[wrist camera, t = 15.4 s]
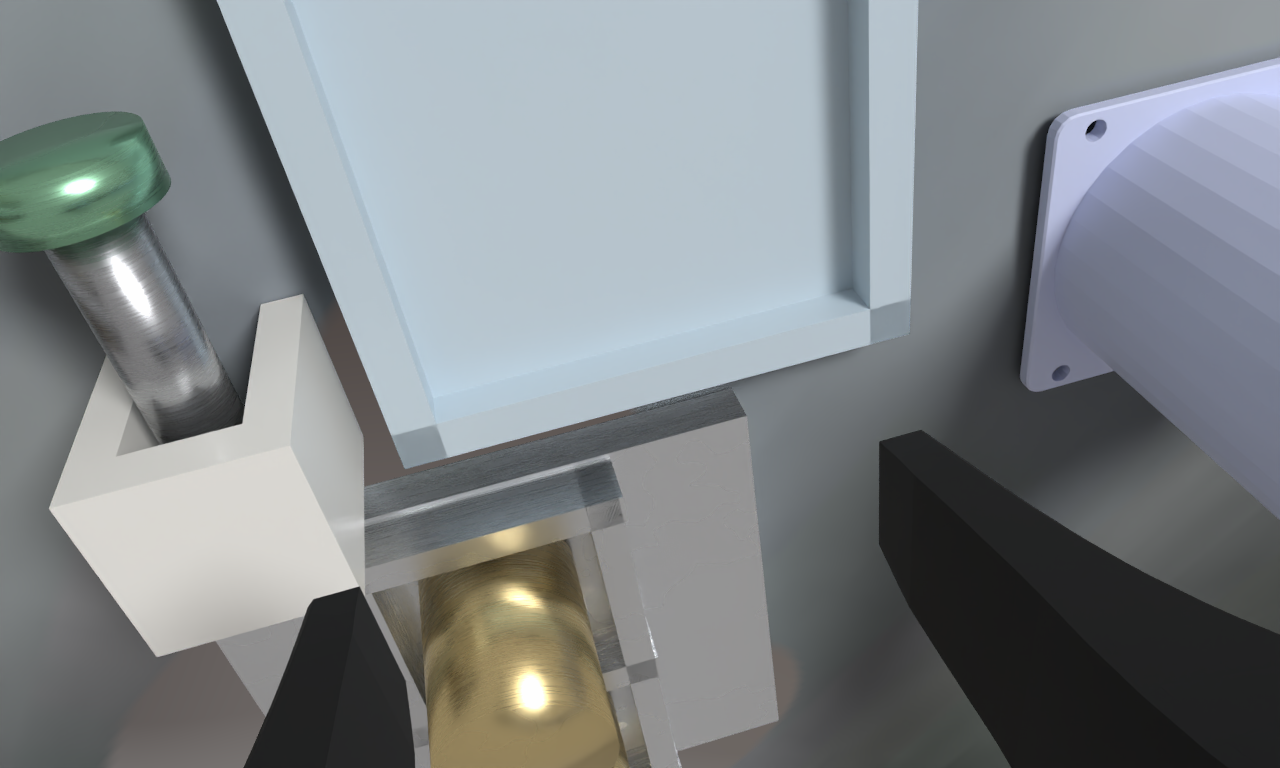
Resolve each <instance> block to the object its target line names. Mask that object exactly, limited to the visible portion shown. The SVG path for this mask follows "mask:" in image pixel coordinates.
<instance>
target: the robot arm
mask: <svg viewBox="0 0 1280 768" xmlns="http://www.w3.org/2000/svg"><path fill="white" fill-rule="evenodd" d="M1094 121H1096V124H1095V127H1094V128H1093V130H1092V131H1091V132H1090V133H1088V134H1086V135H1085V133H1086V130H1087V128H1088V126H1089V125H1090V124H1091V123H1092V122H1094ZM1058 367H1059V368H1058ZM1057 368H1058V369H1057ZM1056 369H1057V370H1056ZM1055 370H1056V371H1055ZM1112 371H1115V372H1116V373H1117V374H1118V375H1119V376H1120V377H1122V378H1123V379H1124V380H1125V381H1126V382H1127V383H1128V384H1129V385H1130V386H1132V387H1133V388H1134V389H1135V390H1136V391H1137V392H1138V393H1139V394H1140V395H1142V396H1143V397H1144V398H1145V399H1146V400H1147V401H1148V402H1149V403H1150V404H1151V405H1153V406H1154V407H1155V408H1156V409H1157V410H1158V411H1159V412H1160V413H1161V414H1163V415H1164V416H1165V417H1166V418H1167V419H1168V420H1169V421H1170V422H1171V423H1173V424H1174V425H1175V426H1176V427H1177V428H1178V429H1179V430H1180V431H1181V432H1183V433H1184V434H1185V435H1186V436H1187V437H1188V438H1189V439H1190V440H1191V441H1193V442H1194V443H1195V444H1196V445H1197V446H1198V447H1199V448H1200V449H1201V450H1203V451H1204V452H1205V453H1206V454H1207V455H1208V456H1209V457H1210V458H1211V459H1212V460H1214V461H1215V462H1216V463H1217V464H1218V465H1219V466H1220V467H1221V468H1222V469H1224V470H1225V471H1226V472H1227V473H1228V474H1229V475H1230V476H1231V477H1232V478H1234V479H1235V480H1236V481H1237V482H1238V483H1239V484H1240V485H1241V486H1242V487H1244V488H1245V489H1246V490H1247V491H1248V492H1249V493H1250V494H1251V495H1252V496H1254V497H1255V498H1256V499H1257V500H1258V501H1259V502H1260V503H1261V504H1262V505H1263V506H1265V507H1266V508H1267V509H1268V510H1269V511H1270V512H1271V513H1272V514H1273V515H1275V516H1276V517H1277V518H1278V519H1279V520H1280V57H1279V58H1275V59H1271V60H1267V61H1263V62H1259V63H1255V64H1251V65H1247V66H1243V67H1239V68H1235V69H1231V70H1227V71H1223V72H1219V73H1215V74H1211V75H1207V76H1203V77H1199V78H1195V79H1191V80H1187V81H1183V82H1179V83H1175V84H1170V85H1166V86H1162V87H1158V88H1154V89H1150V90H1146V91H1142V92H1138V93H1134V94H1130V95H1126V96H1122V97H1118V98H1114V99H1110V100H1106V101H1102V102H1098V103H1094V104H1090V105H1086V106H1082V107H1078V108H1074V109H1070V110H1067V111H1065V112H1063V113H1061V114H1060V115H1059V116H1058V117H1057V118H1056V119H1055V120H1054V121H1053V123H1052V124H1051V126H1050V127H1049V131H1048V134H1047V141H1046V150H1045V159H1044V168H1043V176H1042V185H1041V194H1040V203H1039V212H1038V221H1037V229H1036V238H1035V247H1034V256H1033V265H1032V274H1031V282H1030V291H1029V300H1028V309H1027V318H1026V327H1025V335H1024V344H1023V353H1022V362H1021V371H1020V380H1021V382H1022V383H1023V384H1024V385H1025V386H1026V387H1027V388H1028V389H1029V390H1030V391H1033V392H1039V391H1044V390H1047V389H1051V388H1055V387H1058V386H1062V385H1065V384H1069V383H1073V382H1076V381H1080V380H1083V379H1087V378H1091V377H1094V376H1098V375H1101V374H1105V373H1109V372H1112ZM879 545H880V547H881V549H882V551H883V553H884V556H885V558H886V560H887V562H888V564H889V566H890V568H891V570H892V573H893V575H894V577H895V579H896V581H897V583H898V585H899V587H900V589H901V591H902V593H903V595H904V597H905V599H906V601H907V603H908V605H909V607H910V609H911V610H912V612H913V614H914V615H915V617H916V618H917V620H918V622H919V623H920V625H921V626H922V628H923V629H924V631H925V633H926V634H927V636H928V637H929V639H930V640H931V642H932V644H933V645H934V647H935V648H936V650H937V651H938V653H939V654H940V656H941V658H942V659H943V661H944V662H945V664H946V665H947V667H948V668H949V670H950V671H951V673H952V675H953V676H954V678H955V679H956V681H957V682H958V684H959V685H960V687H961V688H962V690H963V691H964V693H965V695H966V696H967V698H968V699H969V701H970V702H971V704H972V705H973V707H974V708H975V710H976V711H977V713H978V715H979V716H980V718H981V719H982V721H983V722H984V724H985V725H986V727H987V728H988V730H989V731H990V733H991V735H992V736H993V738H994V739H995V741H996V742H997V744H998V746H999V747H1000V749H1001V751H1002V752H1003V754H1004V756H1005V758H1006V759H1007V761H1008V763H1009V764H1010V766H1011V768H1280V635H1279V634H1277V633H1275V632H1272V631H1270V630H1267V629H1265V628H1262V627H1260V626H1258V625H1255V624H1253V623H1250V622H1248V621H1246V620H1243V619H1241V618H1238V617H1236V616H1234V615H1231V614H1229V613H1227V612H1225V611H1223V610H1220V609H1218V608H1216V607H1214V606H1211V605H1209V604H1207V603H1205V602H1203V601H1201V600H1199V599H1197V598H1195V597H1193V596H1190V595H1188V594H1186V593H1184V592H1182V591H1180V590H1178V589H1176V588H1174V587H1172V586H1170V585H1168V584H1166V583H1164V582H1162V581H1160V580H1158V579H1156V578H1154V577H1152V576H1150V575H1148V574H1146V573H1144V572H1142V571H1140V570H1139V569H1137V568H1135V567H1133V566H1131V565H1129V564H1127V563H1125V562H1124V561H1122V560H1120V559H1118V558H1117V557H1115V556H1113V555H1112V554H1110V553H1108V552H1106V551H1105V550H1103V549H1101V548H1099V547H1098V546H1096V545H1094V544H1092V543H1091V542H1089V541H1087V540H1086V539H1084V538H1082V537H1081V536H1079V535H1077V534H1076V533H1074V532H1073V531H1071V530H1069V529H1068V528H1066V527H1064V526H1063V525H1061V524H1060V523H1058V522H1057V521H1055V520H1053V519H1052V518H1050V517H1049V516H1047V515H1046V514H1044V513H1042V512H1041V511H1039V510H1038V509H1036V508H1035V507H1033V506H1032V505H1030V504H1028V503H1027V502H1025V501H1024V500H1022V499H1021V498H1019V497H1018V496H1016V495H1015V494H1013V493H1012V492H1010V491H1009V490H1007V489H1006V488H1004V487H1003V486H1001V485H1000V484H999V483H997V482H996V481H994V480H993V479H991V478H990V477H988V476H987V475H985V474H984V473H983V472H981V471H980V470H978V469H977V468H975V467H974V466H972V465H971V464H970V463H968V462H967V461H965V460H964V459H962V458H961V457H960V456H958V455H957V454H955V453H954V452H953V451H951V450H950V449H948V448H947V447H945V446H944V445H943V444H941V443H940V442H938V441H937V440H935V439H934V438H932V437H931V436H930V435H928V434H927V433H925V432H923V431H922V430H919V431H915V432H912V433H908V434H905V435H901V436H897V437H894V438H890V439H887V440H883V441H880V442H879ZM244 768H415V751H414V742H413V733H412V724H411V716H410V709H409V701H408V693H407V686H406V680H405V678H404V676H403V674H402V672H401V670H400V668H399V666H398V664H397V662H396V660H395V658H394V656H393V654H392V652H391V650H390V648H389V646H388V643H387V641H386V639H385V637H384V635H383V633H382V631H381V629H380V627H379V625H378V623H377V621H376V619H375V617H374V615H373V613H372V611H371V609H370V607H369V605H368V603H367V600H366V598H365V596H364V594H363V592H362V590H361V588H360V586H359V587H355V588H352V589H348V590H345V591H341V592H338V593H334V594H330V595H327V596H323V597H320V598H316V599H313V600H312V602H311V603H310V605H309V606H308V608H307V611H306V614H305V616H304V619H303V622H302V625H301V628H300V631H299V633H298V636H297V639H296V642H295V645H294V647H293V650H292V653H291V655H290V658H289V661H288V663H287V666H286V669H285V671H284V674H283V676H282V679H281V681H280V684H279V686H278V689H277V691H276V694H275V696H274V699H273V701H272V704H271V706H270V708H269V711H268V713H267V715H266V718H265V720H264V723H263V725H262V727H261V729H260V732H259V734H258V737H257V739H256V741H255V743H254V746H253V748H252V750H251V753H250V755H249V757H248V759H247V761H246V764H245V766H244Z"/></svg>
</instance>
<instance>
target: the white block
mask: <svg viewBox="0 0 1280 768" xmlns="http://www.w3.org/2000/svg"><path fill="white" fill-rule="evenodd" d="M363 442H364V436H363V434H362V431H361V429H360V426H359V424H358V422H357V419H356V417H355V415H354V412H353V410H352V408H351V405H350V403H349V401H348V398H347V396H346V393H345V391H344V389H343V386H342V384H341V382H340V379H339V377H338V375H337V372H336V370H335V368H334V365H333V363H332V360H331V358H330V356H329V354H328V351H327V349H326V346H325V344H324V342H323V339H322V337H321V334H320V332H319V330H318V327H317V325H316V323H315V320H314V318H313V316H312V313H311V311H310V309H309V306H308V304H307V301H306V299H305V297H304V294H301V295H297V296H293V297H289V298H285V299H281V300H277V301H273V302H269V303H265V304H261V306H260V313H259V319H258V326H257V332H256V339H255V345H254V351H253V358H252V364H251V371H250V377H249V384H248V390H247V397H246V403H245V410H244V416H243V423H242V424H240V425H236V426H232V427H228V428H224V429H221V430H217V431H213V432H209V433H205V434H201V435H197V436H193V437H190V438H186V439H182V440H178V441H174V442H170V443H166V444H163V445H160V444H159V442H158V441H157V439H156V437H155V436H154V434H153V432H152V430H151V429H150V427H149V425H148V424H147V422H146V420H145V419H144V417H143V415H142V414H141V412H140V410H139V409H138V407H137V405H136V404H135V402H134V400H133V399H132V397H131V395H130V394H129V392H128V390H127V389H126V387H125V385H124V384H123V382H122V380H121V379H120V377H119V375H118V374H117V372H116V370H115V369H114V367H113V365H112V363H111V362H110V360H109V358H108V357H107V355H106V357H105V360H104V363H103V365H102V368H101V371H100V373H99V376H98V379H97V381H96V384H95V387H94V389H93V392H92V395H91V397H90V400H89V403H88V405H87V408H86V411H85V414H84V416H83V419H82V422H81V424H80V427H79V430H78V432H77V435H76V438H75V440H74V443H73V446H72V448H71V451H70V454H69V456H68V459H67V462H66V464H65V467H64V470H63V472H62V475H61V478H60V480H59V483H58V486H57V488H56V491H55V494H54V496H53V499H52V502H51V504H50V507H49V510H50V511H51V512H52V514H53V515H54V517H55V518H56V519H57V521H58V522H59V523H60V525H61V526H62V527H63V529H64V530H65V532H66V533H67V534H68V536H69V537H70V538H71V540H72V541H73V543H74V544H75V545H76V547H77V548H78V549H79V551H80V552H81V554H82V555H83V556H84V558H85V559H86V560H87V562H88V563H89V565H90V566H91V567H92V569H93V570H94V571H95V573H96V574H97V576H98V577H99V578H100V580H101V581H102V582H103V584H104V585H105V587H106V588H107V589H108V591H109V592H110V593H111V595H112V596H113V598H114V599H115V600H116V602H117V603H118V604H119V606H120V607H121V608H122V610H123V611H124V613H125V614H126V615H127V617H128V618H129V619H130V621H131V622H132V624H133V625H134V626H135V628H136V629H137V630H138V632H139V633H140V635H141V636H142V637H143V639H144V640H145V641H146V643H147V644H148V646H149V647H150V648H151V650H152V651H153V652H154V654H155V655H156V657H159V656H163V655H167V654H170V653H174V652H177V651H181V650H184V649H188V648H192V647H195V646H199V645H202V644H206V643H209V642H212V641H217V640H220V639H224V638H227V637H231V636H234V635H238V634H242V633H245V632H249V631H252V630H256V629H259V628H263V627H267V626H270V625H274V624H277V623H281V622H284V621H288V620H292V619H295V618H299V617H302V616H305V614H306V611H307V608H308V606H309V605H310V603H311V602H312V600H313V599H316V598H320V597H323V596H327V595H330V594H334V593H338V592H341V591H345V590H348V589H352V588H355V587H359V586H360V588H361V590H362V592H363V594H364V596H365V539H364V443H363Z"/></svg>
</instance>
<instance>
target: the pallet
mask: <svg viewBox="0 0 1280 768" xmlns="http://www.w3.org/2000/svg"><path fill="white" fill-rule="evenodd" d="M364 539H365V598H366V600H367V603H368V605H369V607H370V609H371V611H372V613H373V615H374V617H375V619H376V621H377V623H378V625H379V627H380V629H381V631H382V633H383V635H384V637H385V639H386V641H387V643H388V646H389V648H390V650H391V652H392V654H393V656H394V658H395V660H396V662H397V664H398V666H399V668H400V670H401V672H402V674H403V676H404V678H405V680H406V686H407V693H408V701H409V709H410V716H411V724H412V733H413V742H414V751H415V768H431V765H430V750H429V736H428V721H427V707H426V692H425V677H424V663H423V648H422V634H421V619H420V604H419V590H418V580H421V579H425V578H428V577H432V576H435V575H439V574H442V573H446V572H450V571H453V570H457V569H460V568H464V567H468V566H471V565H475V564H478V563H482V562H485V561H489V560H493V559H496V558H500V557H503V556H507V555H510V554H514V553H518V552H521V551H525V550H528V549H532V548H535V547H539V546H543V545H546V544H550V543H553V542H557V541H560V540H564V541H565V542H566V543H567V545H568V546H569V548H570V549H571V552H572V554H573V558H574V562H575V566H576V570H577V574H578V578H579V582H580V586H581V590H582V594H583V598H584V602H585V606H586V610H587V614H588V618H589V622H590V626H591V630H592V634H593V638H594V642H595V646H596V650H597V654H598V658H599V663H600V667H601V671H602V675H603V679H604V683H605V687H606V691H607V692H608V693H609V694H610V696H611V697H612V700H613V703H614V707H615V711H616V715H617V718H618V722H619V726H620V730H621V734H622V738H623V742H624V746H625V750H626V754H627V758H628V762H629V766H630V768H682V767H681V763H680V760H679V757H678V753H677V751H680V750H684V749H687V748H690V747H693V746H696V745H700V744H703V743H707V742H710V741H713V740H716V739H719V738H723V737H726V736H730V735H733V734H736V733H739V732H743V731H746V730H749V729H752V728H756V727H759V726H762V725H765V724H769V723H772V722H775V721H779V718H778V709H777V700H776V689H775V681H774V671H773V662H772V651H771V642H770V632H769V623H768V613H767V604H766V594H765V585H764V575H763V566H762V556H761V547H760V538H759V528H758V519H757V509H756V500H755V490H754V481H753V471H752V462H751V452H750V443H749V433H748V424H747V416H746V414H745V412H744V410H743V408H742V406H741V404H740V402H739V401H738V399H737V397H736V395H735V393H734V391H733V389H732V388H730V389H726V390H722V391H719V392H715V393H711V394H707V395H704V396H700V397H696V398H693V399H689V400H685V401H681V402H678V403H674V404H670V405H667V406H663V407H659V408H655V409H652V410H648V411H644V412H640V413H637V414H633V415H629V416H626V417H622V418H618V419H614V420H611V421H607V422H603V423H600V424H596V425H592V426H588V427H585V428H581V429H577V430H574V431H570V432H566V433H563V434H559V435H555V436H551V437H547V438H544V439H540V440H536V441H533V442H529V443H526V444H521V445H518V446H514V447H510V448H507V449H503V450H499V451H496V452H492V453H488V454H484V455H480V456H477V457H473V458H469V459H466V460H462V461H458V462H454V463H451V464H447V465H443V466H440V467H436V468H433V469H428V470H425V471H421V472H418V473H414V474H410V475H406V476H402V477H399V478H395V479H391V480H388V481H384V482H380V483H376V484H373V485H369V486H365V487H364ZM303 619H304V616H302V617H299V618H295V619H292V620H288V621H284V622H281V623H277V624H274V625H270V626H267V627H263V628H259V629H256V630H252V631H249V632H245V633H242V634H238V635H234V636H231V637H227V638H224V639H220V640H217V641H216V643H217V644H218V646H219V647H220V649H221V650H222V652H223V653H224V655H225V656H226V658H227V659H228V661H229V662H230V664H231V666H232V667H233V669H234V670H235V672H236V673H237V675H238V676H239V678H240V679H241V681H242V682H243V684H244V685H245V687H246V688H247V690H248V691H249V693H250V694H251V696H252V697H253V699H254V700H255V702H256V704H257V705H258V707H259V708H260V710H261V711H262V713H263V714H264V715H265V717H266V715H267V713H268V711H269V708H270V706H271V704H272V701H273V699H274V696H275V694H276V691H277V689H278V686H279V684H280V681H281V679H282V676H283V674H284V671H285V669H286V666H287V663H288V661H289V658H290V655H291V653H292V650H293V647H294V645H295V642H296V639H297V636H298V633H299V631H300V628H301V625H302V622H303Z"/></svg>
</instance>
